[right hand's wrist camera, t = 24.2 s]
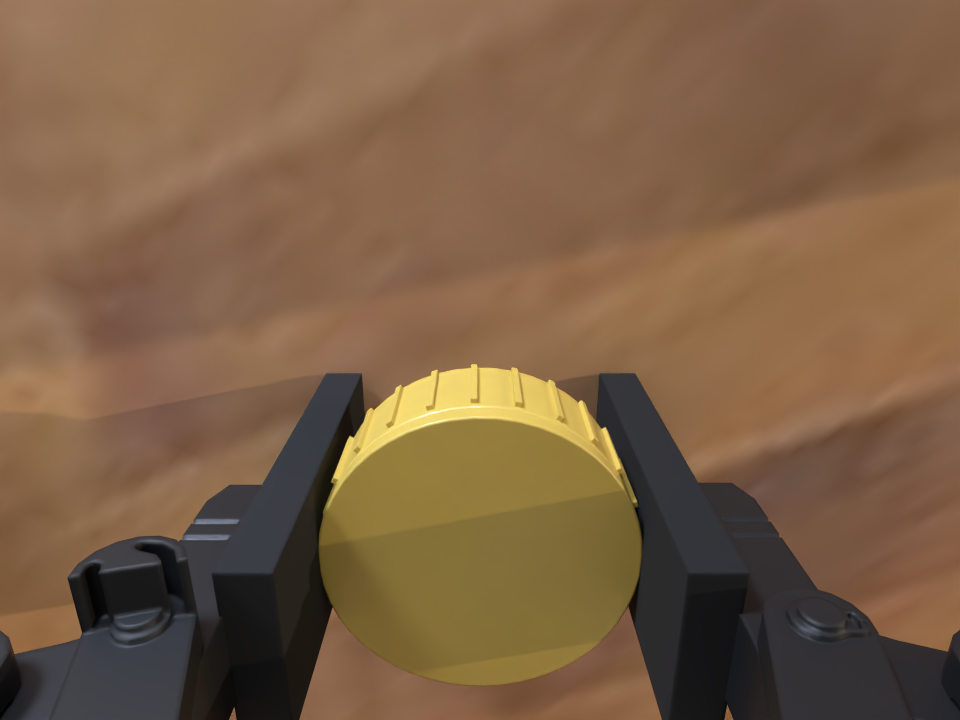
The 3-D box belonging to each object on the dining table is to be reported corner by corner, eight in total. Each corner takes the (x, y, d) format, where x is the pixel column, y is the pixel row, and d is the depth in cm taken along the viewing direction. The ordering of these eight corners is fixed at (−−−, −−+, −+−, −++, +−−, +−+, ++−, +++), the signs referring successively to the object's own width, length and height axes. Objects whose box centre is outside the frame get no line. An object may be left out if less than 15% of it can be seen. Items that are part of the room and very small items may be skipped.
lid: (388, 320, 11) (369, 364, 9) (669, 418, 12) (706, 477, 10) (306, 563, 13) (276, 640, 11) (556, 637, 14) (568, 722, 12)
